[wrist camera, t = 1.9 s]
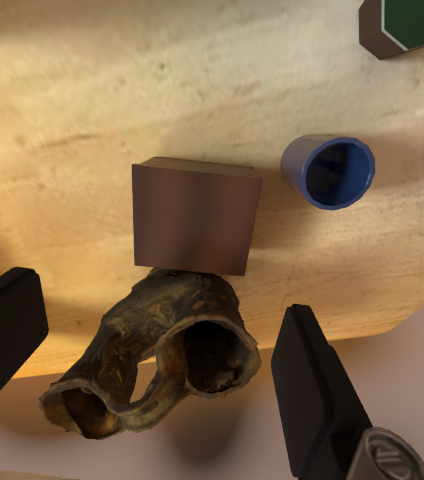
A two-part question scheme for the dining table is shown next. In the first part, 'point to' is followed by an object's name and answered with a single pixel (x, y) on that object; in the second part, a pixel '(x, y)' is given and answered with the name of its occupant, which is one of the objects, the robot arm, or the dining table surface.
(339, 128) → the dining table surface
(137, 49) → the dining table surface
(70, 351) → the dining table surface
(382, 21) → the beer bottle
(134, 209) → the box lid
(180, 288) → the pottery vessel
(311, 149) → the cup
